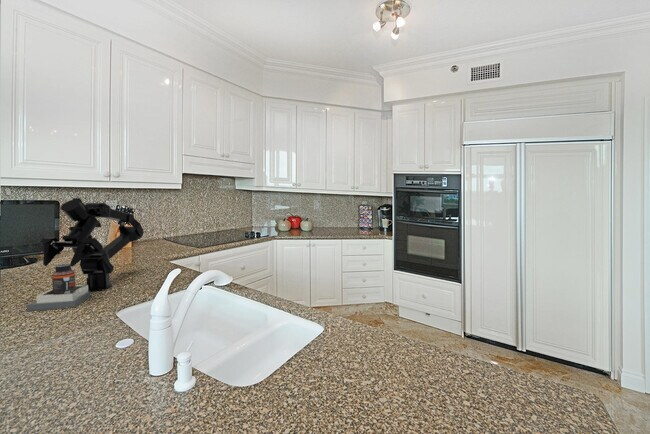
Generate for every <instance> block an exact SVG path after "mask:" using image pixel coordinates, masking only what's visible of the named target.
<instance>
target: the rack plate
mask: <svg viewBox="0 0 650 434" xmlns="http://www.w3.org/2000/svg"><path fill="white" fill-rule="evenodd" d="M75 286H76V290H75V291H74V292H72V293H66V294H53V287H52V288H51V289H49V290H47V291H44V292H42V293H40V294H38V295H36V296H35V297H36V298H35V300H34V301H32V302H30V303H28V304H26V312H32V311H34V312H35V311H45V310H46V311H47V310H58V309H57V308H61V309H67V308H66V307H74V308H75V306H76V307H77V306H79V305H80V304H82V303H84V302H85V301H86V300H88V299H89V298H91V297H92V292H91V291H88V285H87V284H82V285H75ZM81 302H82V303H81ZM78 304H79V305H78Z"/></svg>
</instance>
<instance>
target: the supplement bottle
mask: <svg viewBox="0 0 650 434" xmlns="http://www.w3.org/2000/svg"><path fill="white" fill-rule="evenodd" d="M54 268H55V271H54V272H52V274H51V278H52V279H51V280H52V282H51V283H52V288H53V294H66V293H72V292H74V291H75V290H76V286H77V285H76V272H75V270H73V269H72V266H71V265H70V263H63V264H58V265H55V267H54Z"/></svg>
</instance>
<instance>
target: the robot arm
mask: <svg viewBox="0 0 650 434" xmlns="http://www.w3.org/2000/svg"><path fill="white" fill-rule="evenodd" d="M60 210H61V211H63V213H64V214H65V215H66V216H67V217H68V218H69V219H70V220H71V221H72V222H76V223H75V224H74V226H69V227H68V230H69V232H68V234H67V235H63V236H62V237H61V238H62V240H63V241H60V240H59V239H58V238H57V237H43V238H42V239H41V240H40V241H39V245H41V247H43V261H42V262H43V263H42V264H43V266H44V267H47V266H48V265H49V264H51V262H52V260H53V259H54V258H55V257H56V256H57V255H60V254H61V252H63V251H64V249H65V248H70V249H72V251H73V256H72V258H71V261H70V263H69V264H70V265H71V267H74V266H76V265H77V264H79V267H80V270H81V271H82V274H83V275H87V278H86V285H88V291H92V292H93V291H94V292H95V291H106V290H107V289H109V288H110V287H111V286H112V285H113V284H112V283H111V282H110V274H112V273H113V272H114V267H115V266H114V265H113V264H112V263H111V258H113V257H114V256H116V254H118V253H119V252H120V251H121V250H122V249H124V248H125V247H126V246H127V245H128V244H129V243H132V242H135V241H138V240H139V239H141V238H143V235H144V232H145V230H144V229H143V227H142V224H141V223H140V222H139V221H138V220H137V219H135V216H134V215H133V213H128V212H123V211H121V210H116V209H113V208H111V206H110V205H108V204H106V203H105V202H86V203H84V202H83V200H82V199H81V198H80V197H73V198H72V199H71V200H68V201H66V202H65V203H63V204H62V205H61V207H60ZM97 218H104V219H108V220H113V221H117V222H119V225H118V230H119V235H118V236H117V237H116V238H114V240H111V241H110V242H109V243H108V244H107V245H105V246H104V245H103V244H101V242H100V241H99V240H98V239H97V238H96V237H93V235H92V233H93V232H94V230H95V228H101V227H102V224H101V221H100V220H99V219H97ZM125 223H129V225H131V226H125ZM103 246H104V247H103Z"/></svg>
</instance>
